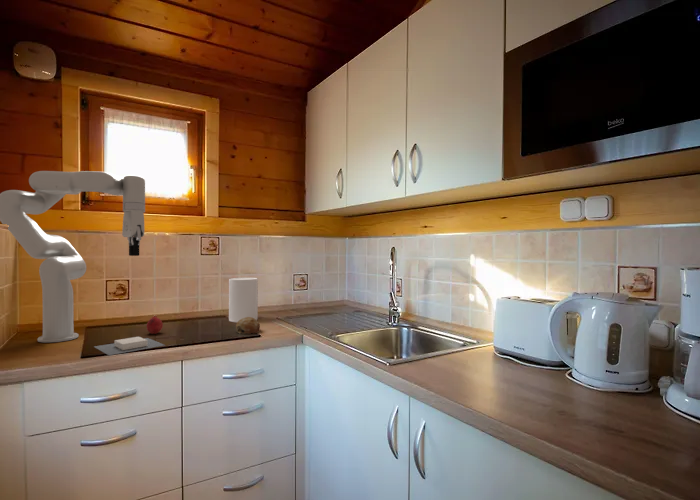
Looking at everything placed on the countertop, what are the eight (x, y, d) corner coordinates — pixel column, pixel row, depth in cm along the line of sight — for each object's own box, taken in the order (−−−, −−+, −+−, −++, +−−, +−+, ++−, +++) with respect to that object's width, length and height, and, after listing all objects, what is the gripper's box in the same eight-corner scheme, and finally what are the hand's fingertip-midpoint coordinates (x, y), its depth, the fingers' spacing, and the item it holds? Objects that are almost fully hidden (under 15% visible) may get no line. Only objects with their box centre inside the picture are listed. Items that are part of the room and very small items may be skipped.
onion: (156, 336, 156) (156, 316, 156) (143, 336, 158) (143, 316, 158) (165, 333, 162) (165, 314, 162) (153, 333, 163) (153, 313, 163)
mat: (93, 348, 139) (93, 346, 139) (147, 339, 152) (147, 337, 152) (108, 357, 128) (108, 355, 128) (165, 346, 141) (165, 345, 141)
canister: (234, 316, 201) (234, 277, 201) (260, 317, 200) (260, 277, 200) (224, 322, 187) (224, 279, 187) (253, 322, 187) (253, 279, 187)
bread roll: (233, 341, 165) (229, 325, 162) (244, 326, 174) (240, 311, 171) (255, 342, 163) (251, 326, 160) (265, 327, 172) (261, 312, 169)
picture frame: (114, 340, 139) (122, 344, 134) (138, 336, 145) (147, 340, 140) (114, 346, 139) (122, 350, 134) (138, 342, 145) (147, 346, 140)
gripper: (116, 208, 155) (116, 255, 155) (130, 206, 145) (130, 256, 145) (137, 209, 161) (137, 255, 161) (152, 207, 150) (152, 256, 151)
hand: (134, 255), depth 153 cm, fingers closed
